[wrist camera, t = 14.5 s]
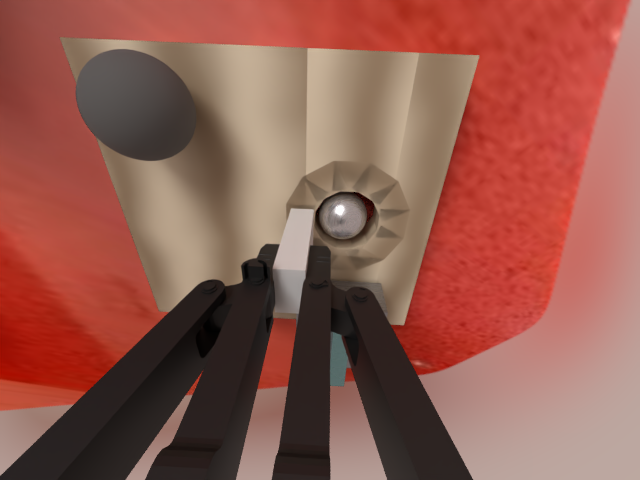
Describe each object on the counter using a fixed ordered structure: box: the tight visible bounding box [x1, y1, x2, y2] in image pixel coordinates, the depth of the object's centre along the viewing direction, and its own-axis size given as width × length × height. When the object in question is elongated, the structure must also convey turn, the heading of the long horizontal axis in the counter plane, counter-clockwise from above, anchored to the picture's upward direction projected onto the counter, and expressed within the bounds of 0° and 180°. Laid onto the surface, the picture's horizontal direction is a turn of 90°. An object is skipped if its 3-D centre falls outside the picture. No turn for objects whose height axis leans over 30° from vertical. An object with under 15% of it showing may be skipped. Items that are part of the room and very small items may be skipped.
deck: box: [60, 37, 479, 325], centre depth 21 cm, size 22×20×2 cm
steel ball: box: [319, 191, 367, 239], centre depth 20 cm, size 4×4×4 cm
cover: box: [296, 280, 388, 386], centre depth 22 cm, size 6×6×5 cm
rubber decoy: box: [76, 49, 196, 161], centre depth 14 cm, size 5×5×5 cm
